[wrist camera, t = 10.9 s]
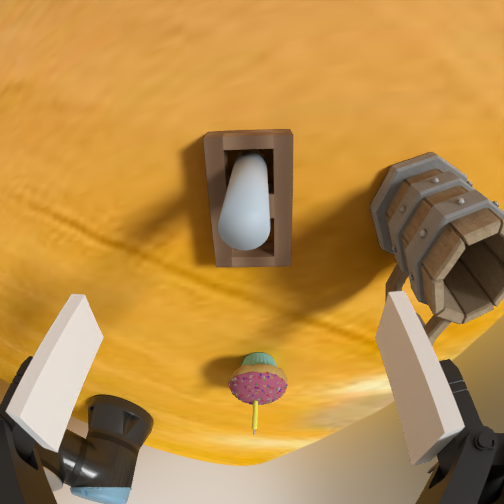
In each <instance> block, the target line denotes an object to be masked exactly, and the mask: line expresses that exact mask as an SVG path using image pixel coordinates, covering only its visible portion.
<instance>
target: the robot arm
mask: <svg viewBox="0 0 504 504" xmlns="http://www.w3.org/2000/svg"><path fill="white" fill-rule="evenodd" d="M103 338H104V337H103V335H102V333H101V331H100V329H99V326H98V324H97V322H96V320H95V317H94V315H93V313H92V311H91V308H90V306H89V303H88V301H87V299H86V296H85V295H83V294H71V296H70V297H69V299H68V300H67V302H66V304H65V305H64V307H63V308H62V310H61V311H60V313H59V315H58V316H57V318H56V319H55V321H54V323H53V324H52V326H51V328H50V329H49V331H48V333H47V334H46V336H45V338H44V339H43V341H42V343H41V345H40V346H39V348H38V350H37V352H36V353H35V355H34V357H32V356H29V357H28V358H27V359H26V360H25V361H24V362H23V363H22V364H21V366H20V368H19V370H18V372H17V373H16V374H17V375H15V377H14V379H13V383H11V385H10V387H9V389H8V391H7V393H6V395H5V397H4V399H3V401H2V403H1V405H0V504H57V502H56V500H55V497H54V495H53V491H56V490H59V489H61V488H62V487H63V483H65V484H67V485H70V486H71V488H70V490H71V493H72V494H74V495H76V496H79V497H81V498H84V499H88V500H91V501H95V502H99V503H104V504H125V503H126V502H127V500H128V497H129V493H130V490H131V485H132V480H133V475H134V470H135V466H136V461H137V456H138V452H139V449H140V447H141V446H142V445H143V443H144V442H145V440H146V439H147V437H148V436H149V434H150V433H151V431H152V427H153V418H152V417H151V416H150V414H149V413H147V412H146V411H145V410H144V409H142V408H141V407H139V406H137V405H135V404H133V403H131V402H129V401H126V400H124V399H121V398H118V397H114V396H108V395H97V396H94V397H93V398H92V399H91V401H90V404H89V407H88V426H89V428H88V429H89V430H88V434H87V437H86V439H85V438H83V437H81V436H79V435H77V434H75V433H73V432H72V431H70V430H68V429H66V427H67V424H68V421H69V419H70V416H71V414H72V411H73V408H74V406H75V403H76V401H77V398H78V396H79V393H80V391H81V388H82V386H83V383H84V381H85V379H86V376H87V374H88V372H89V369H90V367H91V365H92V362H93V360H94V358H95V355H96V353H97V351H98V349H99V346H100V344H101V342H102V340H103ZM375 338H376V341H377V344H378V347H379V350H380V354H381V357H382V360H383V363H384V366H385V369H386V372H387V376H388V379H389V382H390V386H391V389H392V392H393V396H394V399H395V403H396V406H397V410H398V413H399V417H400V420H401V424H402V428H403V432H404V435H405V440H406V444H407V448H408V452H409V455H410V460H411V464H412V466H414V465H418V464H422V463H426V462H429V461H431V460H432V459H433V458H434V457H435V456H436V455H437V457H438V461H439V462H437V463H436V464H435V465H434V466H433V467H432V468H431V469H430V470H429V471H428V473H431V472H432V471H433V473H432V474H431V476H430V478H429V480H428V482H427V484H426V486H425V488H424V490H423V492H422V493H421V495H420V497H419V499H418V500H417V502H416V504H504V433H494V432H493V430H492V429H490V428H488V427H486V426H483V424H482V423H481V421H480V419H479V416H478V413H477V411H476V408H475V406H474V403H473V401H472V398H471V396H470V394H469V392H468V391H467V387H466V384H465V382H463V378H462V375H461V373H460V371H459V369H458V368H457V367H456V366H455V365H454V363H452V361H451V360H450V359H448V360H443V361H438V358H437V356H436V354H435V352H434V350H433V347H432V345H431V343H430V341H429V339H428V337H427V335H426V332H425V330H424V328H423V326H422V324H421V322H420V320H419V318H418V316H417V314H416V312H415V310H414V308H413V306H412V304H411V302H410V300H409V298H408V296H407V295H406V293H405V291H396V292H388V296H387V300H386V303H385V307H384V310H383V314H382V317H381V320H380V324H379V327H378V330H377V334H376V337H375Z"/></svg>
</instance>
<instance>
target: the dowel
mask: <svg viewBox="0 0 504 504" xmlns="http://www.w3.org/2000/svg"><path fill="white" fill-rule="evenodd" d="M218 231H219V235H220V237H221V238H222V240H223V241H224V242H225V243H226V244H227V245H229V246H230V247H232V248H234V249H238V250H252V249H255V248H257V247H259V246H261V245H262V244H263V243H264V242H265V241H266V240H267V238H268V236H269V233H270V213H269V194H268V176H267V161H266V158H265V156H264V154H263V153H262V152H261V151H259V150H257V149H245V150H243V151H241V152H240V153H239V154H238V155H237V157H236V160H235V163H234V167H233V170H232V174H231V177H230V181H229V185H228V188H227V192H226V196H225V199H224V203H223V207H222V211H221V215H220V218H219V222H218Z"/></svg>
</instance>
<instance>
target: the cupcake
mask: <svg viewBox="0 0 504 504" xmlns="http://www.w3.org/2000/svg"><path fill="white" fill-rule="evenodd" d="M229 387H230V390H231V392H232V394H233V395H235V397H236V398H238V400H241V401H242V402H245V403H249V404H252V405H253V420H252V429H254V430H253V435H254V434H255V430H256V429H257V414H258V405H260V404H261V405H263V404H267V403H272V402H273V401H275V400H278V398H280V397H281V396H282V395H283V393H284V392H285V390H286V388H287V378H286V375H285V374H284V372H283V370H282V369H280V368H277V366H276V364H275V361H274V359H273V358H272V357H271V356H270V355H268V354H266V353H260V352H258V353H252V354H249V355H248V356H246V357H245V359H244V361H243V363H242V365H241V367H239V368H238V369H236V370H235V371H234V372H233V373H232V374H231V376H230V377H229Z"/></svg>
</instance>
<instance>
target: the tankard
mask: <svg viewBox="0 0 504 504" xmlns="http://www.w3.org/2000/svg"><path fill="white" fill-rule="evenodd" d="M498 206H499V205H498V202H497V201H493V202H491V201H490V200H488V199H487V198H486V197H485V196H483V195H482V194H481V193H480V192H478V191H477V190H476V189H474V188H473V187H472V183H471V182H470V181H468V177H467V176H466V175H465V174H463V173H462V172H461V171H459V170H458V169H456V168H455V167H454V166H452V165H451V164H449V163H448V162H447V161H445V160H444V159H442V158H441V157H439V156H438V155H436V154H435V153H433V152H430V153H427V154H424V155H421V156H418V157H415V158H412V159H409V160H406V161H403V162H400V163H397V164H394V165H392V166H391V168H390V169H389V171H388V173H387V175H386V177H385V179H384V181H383V182H382V184H381V186H380V188H379V190H378V192H377V193H376V195H375V197H374V199H373V200H372V202H371V204H370V206H369V207H370V210H371V214H372V218H373V222H374V226H375V230H376V234H377V238H378V242H379V245H380V246H381V248H382V250H384V251H387V252H389V253H391V254H394V255H395V260H396V262H397V263H398V264H397V265H396V267H395V268H394V270H393V272H392V273H391V275H390V277H389V279H388V281H387V282H386V300H387V296H388V292H396V291H402V286H403V284H404V282H405V280H406V279H407V277H408V276H409V279H410V284H411V289H412V290H413V292H414V294H415V296H416V298H417V300H418V302H421V303H424V304H427V305H429V307H430V309H431V311H432V313H433V314H434V315H433V316H432V318H431V319H430V320H429V322H428V323H427V324H426V325H425V323H424V322H423V320H422V318H421V317H420V315H419V314H417V313H416V314H417V316H418V318H419V320H420V322H421V324H422V326H423V328H424V330H425V332H426V335H427V337H428V339H429V341H430V343H431V345H432V346H433V344H434V342H435V340H436V338H437V337H438V336H439V335H440V334H441V333H442V332H443V330H444V329H445V328H446V327H447V326H448V325H449V324H450V323H451V322H454V323H457V324H461V323H462V324H464V323H466V322H468V321H470V320H473V319H475V318H477V317H479V316H481V315H483V314H485V313H487V312H489V311H491V310H493V309H494V308H493V305H494V306H496V307H497V306H498V304H499V303H500V302H501V301H502V299H503V298H504V212H503V211H502V210H501V209H500V208H498ZM386 300H385V303H386Z"/></svg>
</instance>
